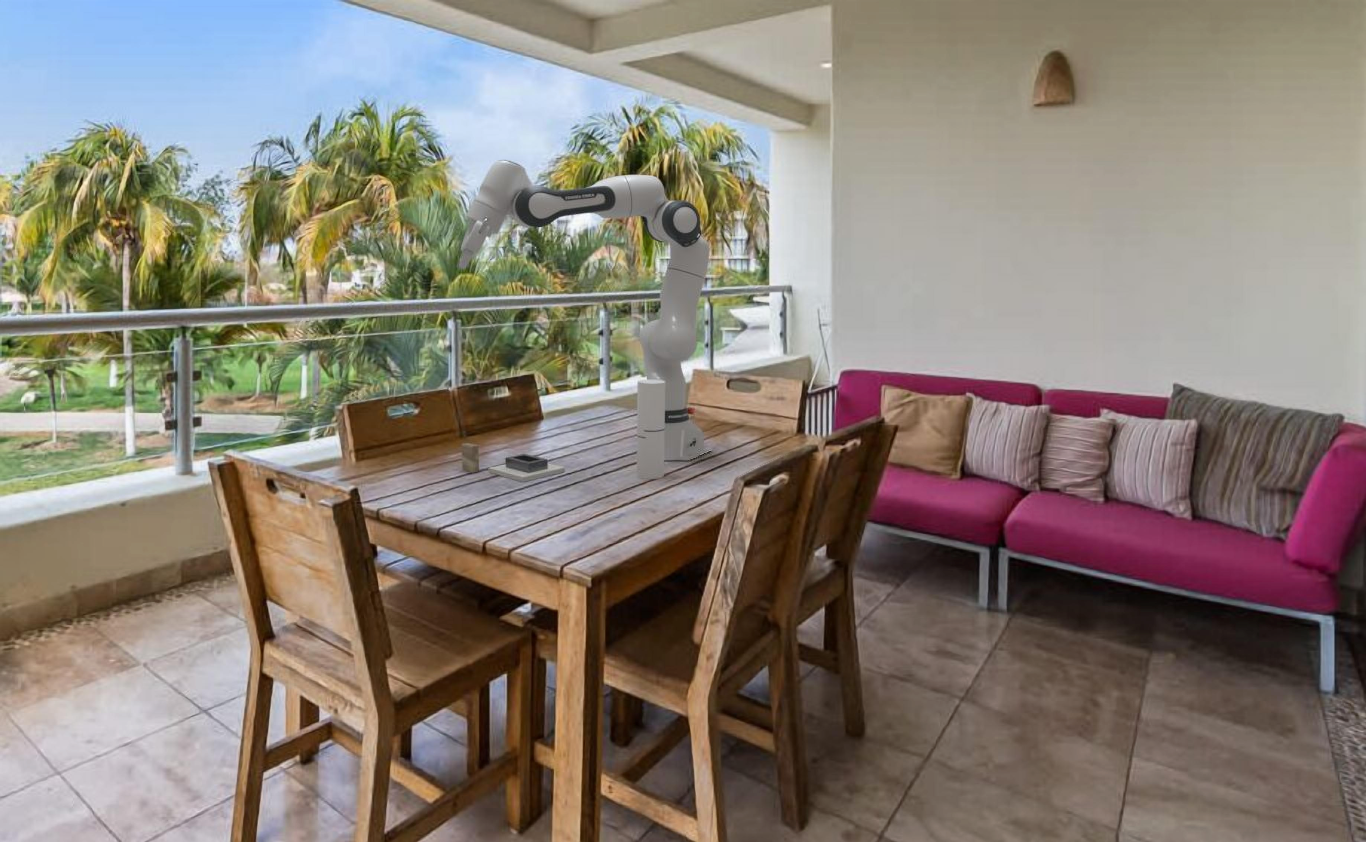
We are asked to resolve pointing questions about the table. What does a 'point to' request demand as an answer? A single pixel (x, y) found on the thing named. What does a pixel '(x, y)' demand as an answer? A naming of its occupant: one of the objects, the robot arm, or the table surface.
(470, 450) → the wooden block
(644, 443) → the cylindrical container
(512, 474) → the plate
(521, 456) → the frame
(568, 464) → the table surface
